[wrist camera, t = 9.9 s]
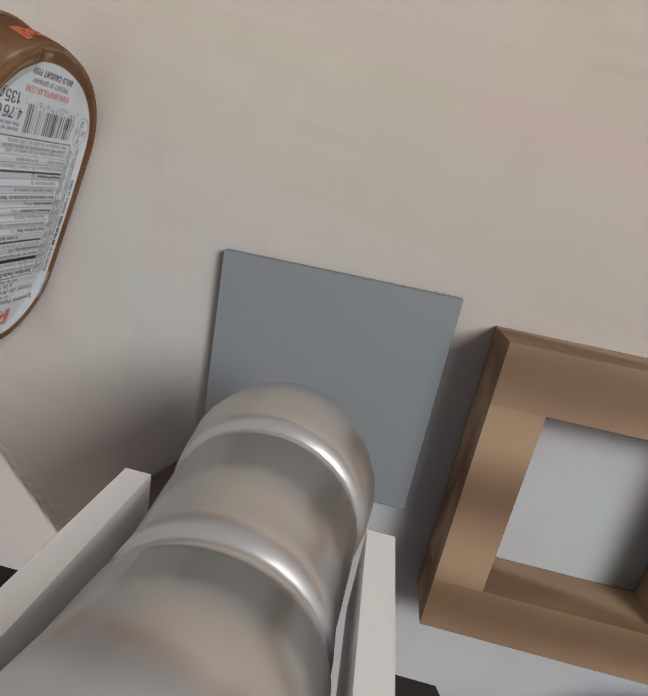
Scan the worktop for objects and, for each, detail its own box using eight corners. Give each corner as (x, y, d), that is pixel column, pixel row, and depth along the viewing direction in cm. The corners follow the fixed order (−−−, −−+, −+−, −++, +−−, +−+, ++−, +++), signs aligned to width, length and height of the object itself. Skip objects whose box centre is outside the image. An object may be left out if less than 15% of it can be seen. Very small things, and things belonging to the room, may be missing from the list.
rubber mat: (403, 502, 27) (404, 509, 26) (202, 452, 28) (198, 457, 27) (461, 297, 23) (463, 300, 23) (228, 248, 24) (224, 249, 24)
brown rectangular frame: (660, 645, 27) (691, 696, 24) (417, 581, 28) (419, 623, 25) (795, 390, 22) (853, 416, 19) (496, 326, 23) (510, 342, 21)
